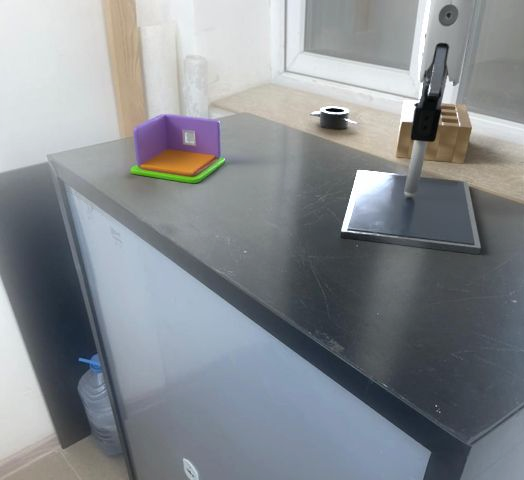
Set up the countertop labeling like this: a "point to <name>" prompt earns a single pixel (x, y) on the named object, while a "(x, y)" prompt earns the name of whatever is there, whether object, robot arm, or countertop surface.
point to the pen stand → (438, 134)
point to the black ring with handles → (333, 117)
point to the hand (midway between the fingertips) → (422, 136)
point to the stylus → (415, 168)
